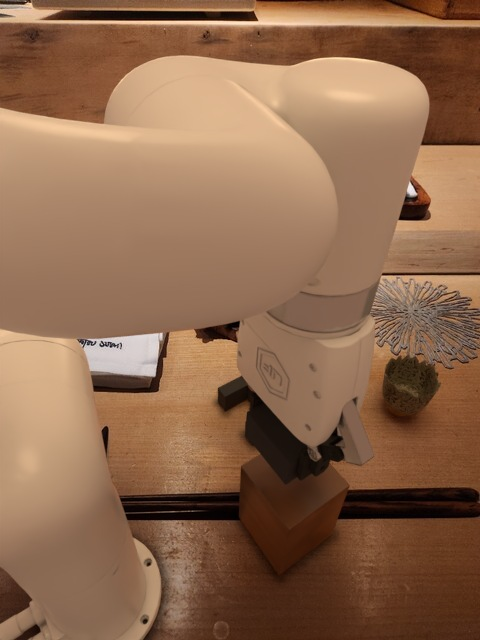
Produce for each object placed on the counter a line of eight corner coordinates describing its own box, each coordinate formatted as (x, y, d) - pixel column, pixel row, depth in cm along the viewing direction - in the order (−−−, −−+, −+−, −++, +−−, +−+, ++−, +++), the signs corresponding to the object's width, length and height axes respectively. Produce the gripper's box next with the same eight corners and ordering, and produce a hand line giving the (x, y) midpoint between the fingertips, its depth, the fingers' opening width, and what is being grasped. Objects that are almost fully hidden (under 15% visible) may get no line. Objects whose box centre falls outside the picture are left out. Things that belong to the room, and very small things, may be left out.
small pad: (285, 485, 39) (289, 463, 37) (244, 434, 42) (246, 411, 40) (360, 435, 43) (368, 412, 41) (317, 392, 46) (322, 369, 44)
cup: (426, 434, 65) (444, 400, 60) (373, 425, 66) (386, 390, 61) (421, 394, 71) (438, 358, 65) (373, 386, 72) (385, 350, 66)
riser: (278, 575, 51) (288, 529, 43) (238, 517, 56) (240, 465, 48) (331, 534, 55) (350, 485, 47) (289, 482, 60) (299, 429, 51)
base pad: (252, 446, 63) (253, 431, 61) (217, 402, 69) (217, 387, 66) (320, 405, 69) (324, 390, 66) (283, 367, 74) (285, 352, 72)
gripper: (196, 236, 33) (201, 395, 45) (375, 398, 22) (319, 548, 35) (278, 210, 36) (262, 364, 48) (468, 340, 26) (387, 495, 38)
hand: (286, 440), depth 41 cm, fingers closed on small pad, 6 cm apart
